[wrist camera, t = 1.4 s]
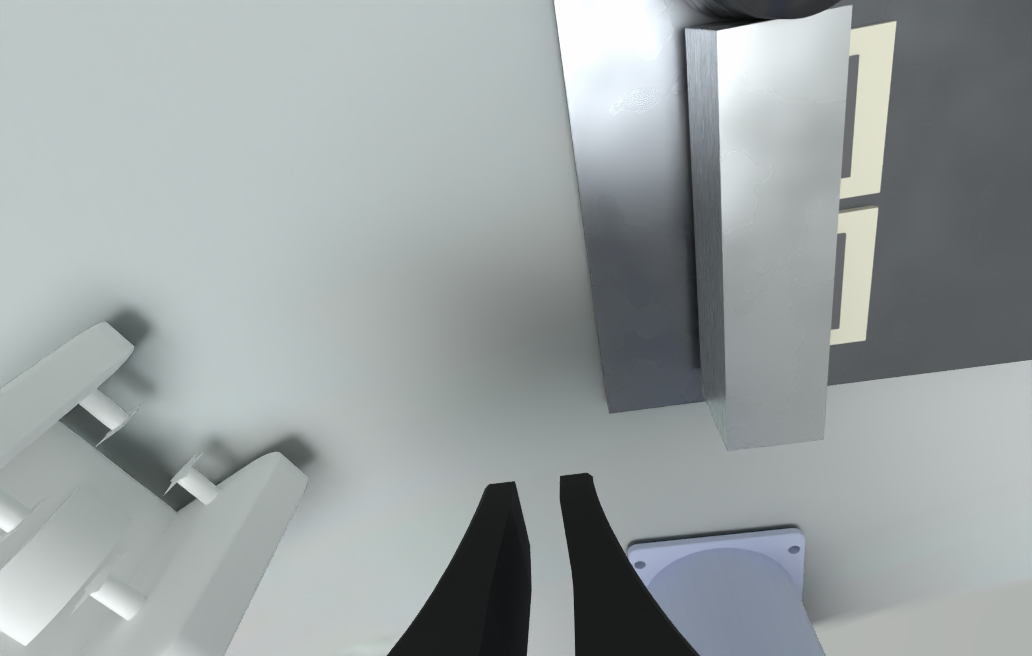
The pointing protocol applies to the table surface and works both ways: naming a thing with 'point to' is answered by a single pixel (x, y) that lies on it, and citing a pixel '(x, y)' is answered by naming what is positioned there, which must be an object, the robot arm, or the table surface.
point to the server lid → (901, 202)
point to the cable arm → (766, 209)
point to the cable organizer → (121, 527)
